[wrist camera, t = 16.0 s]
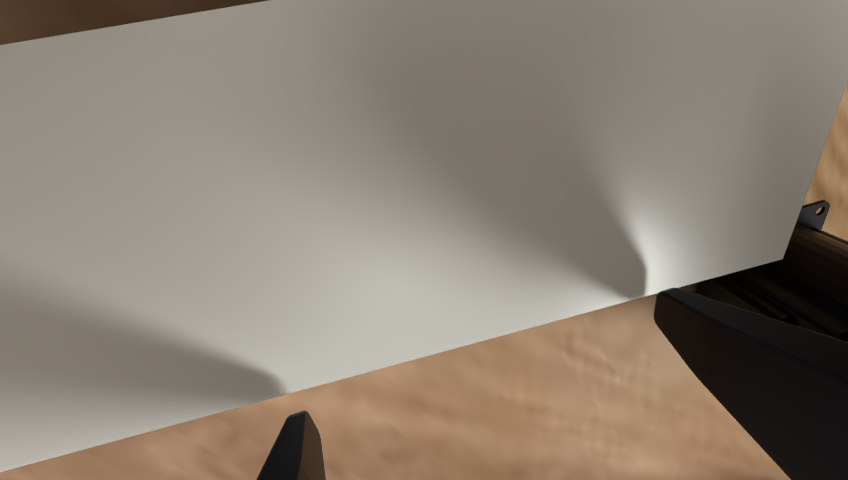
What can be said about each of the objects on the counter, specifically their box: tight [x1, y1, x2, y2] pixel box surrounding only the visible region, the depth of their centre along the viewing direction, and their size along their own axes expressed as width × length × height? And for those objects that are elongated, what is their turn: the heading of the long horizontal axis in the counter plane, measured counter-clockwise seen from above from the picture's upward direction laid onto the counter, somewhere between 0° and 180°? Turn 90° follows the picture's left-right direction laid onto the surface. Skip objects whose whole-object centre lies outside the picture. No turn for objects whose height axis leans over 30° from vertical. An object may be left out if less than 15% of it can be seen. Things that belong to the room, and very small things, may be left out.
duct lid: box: [0, 0, 848, 472], centre depth 9 cm, size 21×8×2 cm, turn 99°
